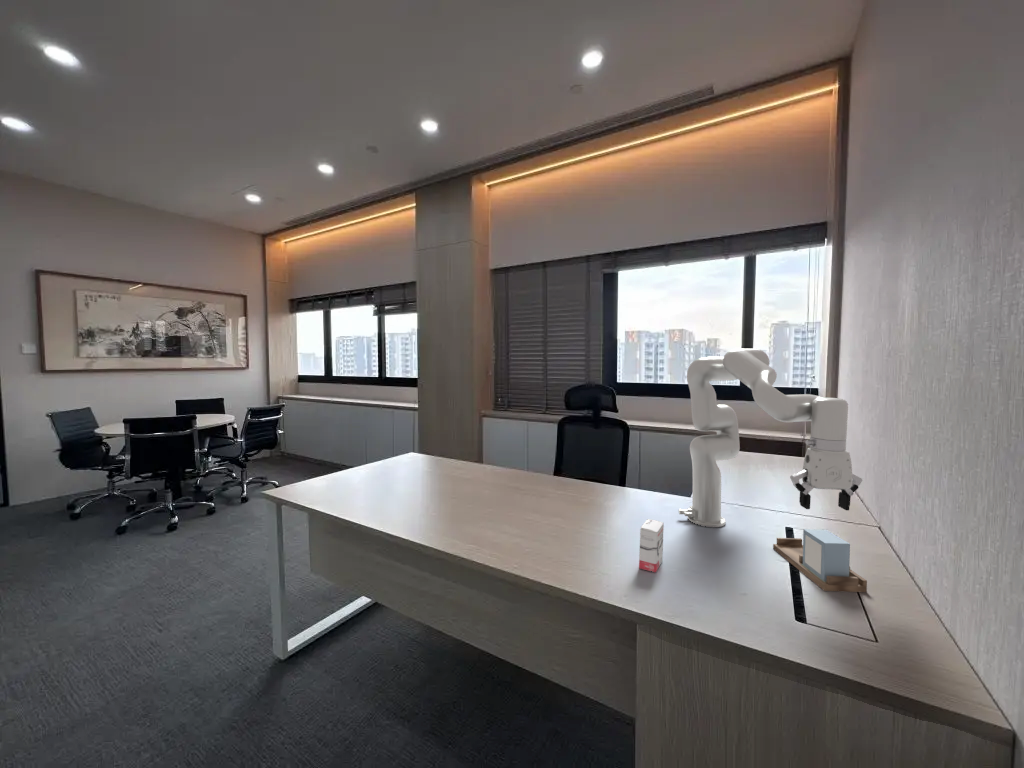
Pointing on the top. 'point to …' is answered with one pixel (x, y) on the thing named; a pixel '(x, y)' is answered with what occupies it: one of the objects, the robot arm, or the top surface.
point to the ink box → (651, 545)
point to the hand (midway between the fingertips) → (824, 508)
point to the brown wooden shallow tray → (794, 554)
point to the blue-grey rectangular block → (825, 553)
